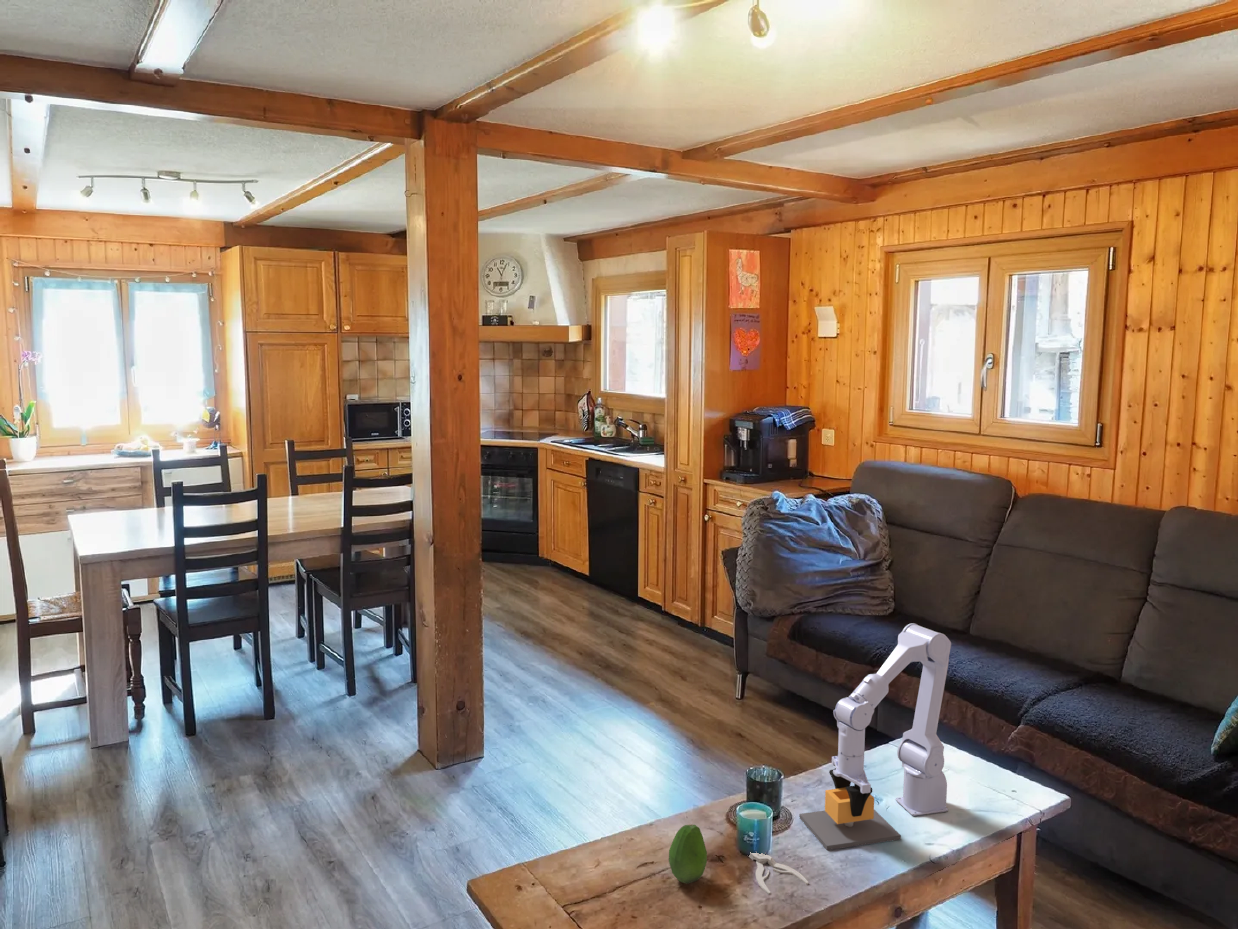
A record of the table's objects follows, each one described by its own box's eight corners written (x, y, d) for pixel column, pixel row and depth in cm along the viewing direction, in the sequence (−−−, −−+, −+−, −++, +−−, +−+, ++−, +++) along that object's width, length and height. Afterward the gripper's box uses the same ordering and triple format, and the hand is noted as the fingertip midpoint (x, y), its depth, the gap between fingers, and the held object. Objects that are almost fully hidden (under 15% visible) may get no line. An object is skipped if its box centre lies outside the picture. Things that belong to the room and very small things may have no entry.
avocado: (714, 880, 184) (715, 826, 182) (688, 896, 178) (688, 840, 177) (686, 864, 189) (687, 811, 188) (660, 878, 184) (660, 824, 183)
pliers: (767, 889, 179) (731, 850, 192) (767, 896, 179) (731, 857, 193) (809, 878, 182) (771, 841, 196) (809, 885, 182) (771, 848, 196)
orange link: (860, 805, 207) (860, 785, 206) (873, 818, 201) (874, 798, 200) (824, 810, 205) (825, 790, 204) (837, 824, 199) (838, 803, 198)
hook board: (869, 808, 212) (869, 784, 211) (900, 839, 199) (901, 814, 198) (799, 818, 208) (799, 793, 207) (826, 850, 194) (827, 824, 194)
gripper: (820, 740, 207) (819, 795, 209) (850, 768, 193) (848, 827, 195) (848, 736, 209) (846, 791, 210) (880, 764, 195) (877, 822, 196)
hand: (849, 808), depth 203 cm, fingers closed on orange link, 6 cm apart
